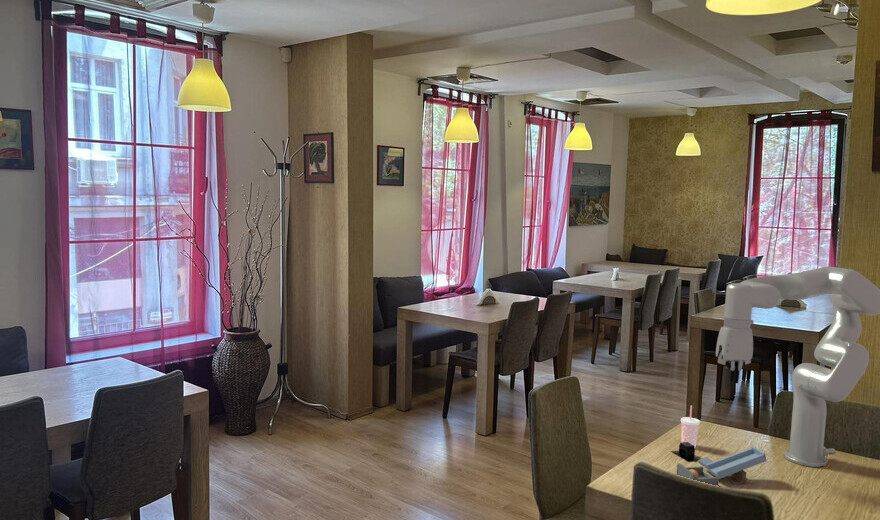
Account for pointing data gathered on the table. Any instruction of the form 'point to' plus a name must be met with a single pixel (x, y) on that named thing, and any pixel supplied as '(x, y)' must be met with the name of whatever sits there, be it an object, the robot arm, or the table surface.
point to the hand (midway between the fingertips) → (732, 382)
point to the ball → (694, 473)
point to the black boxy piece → (686, 452)
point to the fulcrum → (738, 478)
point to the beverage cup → (690, 429)
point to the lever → (734, 462)
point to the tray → (701, 475)
